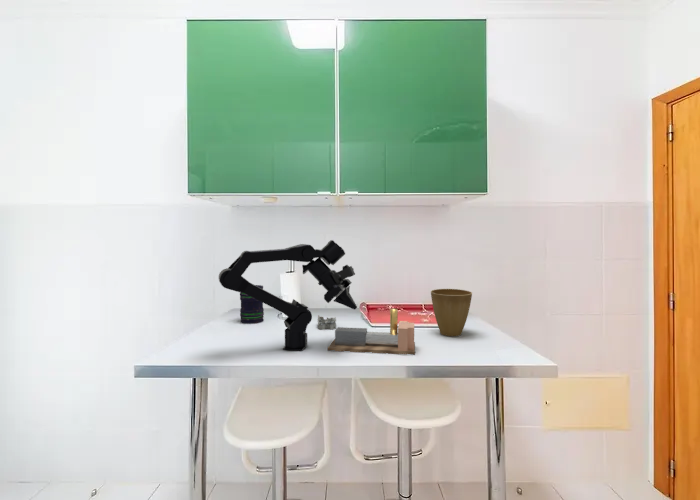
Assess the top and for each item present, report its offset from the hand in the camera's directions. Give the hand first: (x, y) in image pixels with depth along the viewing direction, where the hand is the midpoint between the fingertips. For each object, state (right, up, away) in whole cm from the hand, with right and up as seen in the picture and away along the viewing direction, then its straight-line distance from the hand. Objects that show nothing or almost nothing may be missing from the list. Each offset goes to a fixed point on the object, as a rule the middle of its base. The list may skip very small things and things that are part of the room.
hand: (356, 308), depth 132 cm
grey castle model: (-11, -12, +30) cm, 34 cm away
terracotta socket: (+16, -12, -2) cm, 20 cm away
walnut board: (+5, -13, 0) cm, 14 cm away
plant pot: (+36, -12, +17) cm, 41 cm away
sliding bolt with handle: (+9, -11, -1) cm, 14 cm away
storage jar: (-44, -11, +39) cm, 60 cm away
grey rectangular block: (-2, -12, +1) cm, 12 cm away
